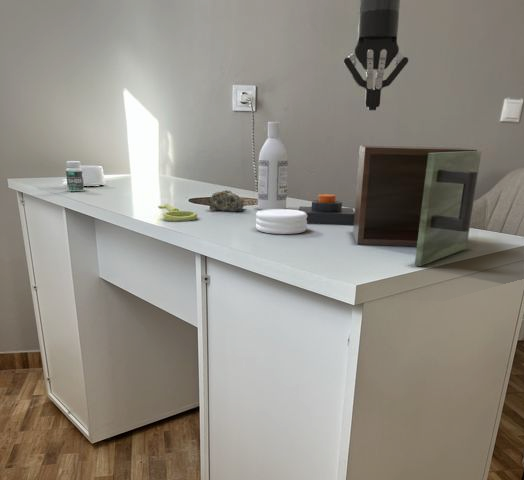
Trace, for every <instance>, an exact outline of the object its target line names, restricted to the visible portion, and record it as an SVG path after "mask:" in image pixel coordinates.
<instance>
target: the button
mask: <svg viewBox="0 0 524 480" xmlns="http://www.w3.org/2000/svg"><path fill="white" fill-rule="evenodd" d="M318 200H319V202H321V203H335V201H336V194H329V193H325V194H324V193H323V194H321V193H320V194H319V195H318Z"/></svg>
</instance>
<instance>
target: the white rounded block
mask: <svg viewBox="0 0 524 480" xmlns="http://www.w3.org/2000/svg"><path fill="white" fill-rule="evenodd" d="M80 168H81V169H82V171H83V183H84V186H96V185H104V184H105V185H106V179H105V175H104V169H103V166H101V165H81V167H80ZM103 182H105V183H103ZM90 183H91V184H90ZM92 183H101V184H92ZM105 185H104V186H105Z"/></svg>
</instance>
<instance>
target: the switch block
mask: <svg viewBox="0 0 524 480" xmlns="http://www.w3.org/2000/svg"><path fill="white" fill-rule="evenodd" d="M298 211H303V212H305V213H306V214H307V218H306V220H307V224H322V225H349V226H350V225H351V226H353V225H354V213H355V209H354V208H353V207H343V201H340V200H335V203H321V202H319V199H315V200H311V206H302V205H301V206H299V207H298Z"/></svg>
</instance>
